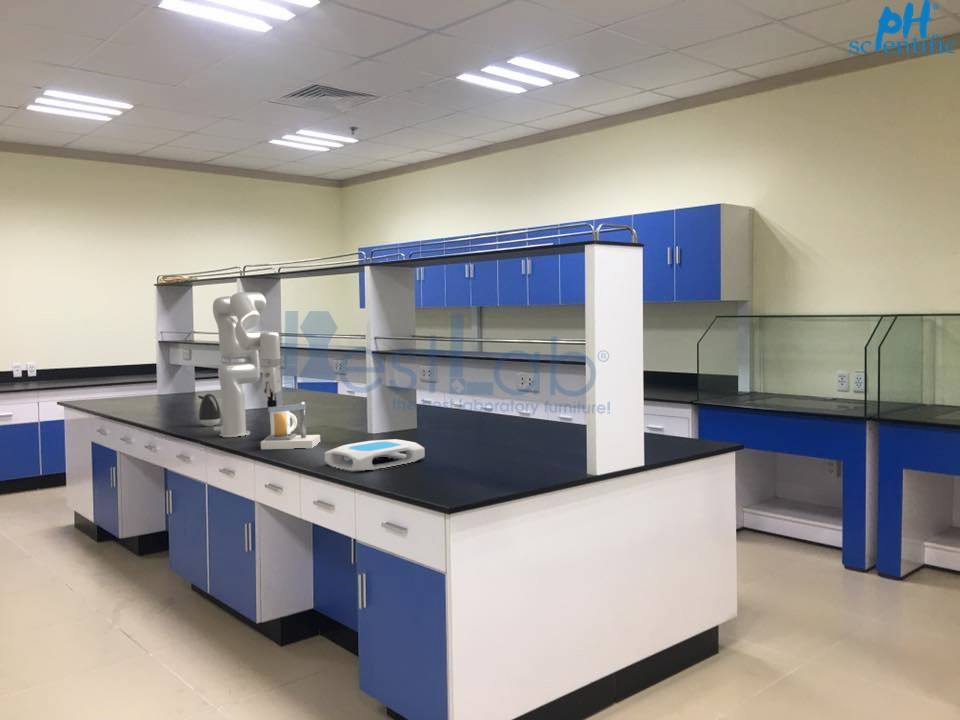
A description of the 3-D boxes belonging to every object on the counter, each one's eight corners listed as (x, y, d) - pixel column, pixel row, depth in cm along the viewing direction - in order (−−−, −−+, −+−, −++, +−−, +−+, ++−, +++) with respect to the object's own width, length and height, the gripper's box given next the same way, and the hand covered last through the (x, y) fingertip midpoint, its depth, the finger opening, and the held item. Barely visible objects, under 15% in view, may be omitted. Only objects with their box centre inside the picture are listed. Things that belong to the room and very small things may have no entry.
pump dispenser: (204, 424, 377) (203, 392, 376) (225, 424, 376) (223, 392, 375) (194, 427, 367) (192, 395, 366) (215, 427, 366) (213, 394, 365)
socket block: (260, 449, 304) (260, 439, 304) (271, 443, 318) (270, 433, 318) (312, 448, 304) (312, 438, 303) (320, 442, 318) (319, 432, 317)
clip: (271, 441, 302) (270, 405, 301) (269, 440, 304) (267, 404, 303) (307, 437, 310) (305, 402, 309) (304, 436, 312) (303, 401, 311)
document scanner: (323, 466, 270) (323, 448, 270) (389, 454, 289) (388, 437, 289) (359, 474, 255) (358, 455, 255) (425, 461, 274) (425, 443, 274)
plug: (271, 439, 308) (270, 414, 307) (275, 437, 314) (274, 412, 313) (286, 439, 308) (285, 414, 307) (290, 437, 313) (289, 412, 313)
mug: (302, 436, 333) (301, 408, 332) (277, 440, 325) (276, 411, 324) (292, 434, 339) (291, 406, 338) (267, 438, 331) (266, 409, 330)
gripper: (275, 365, 297) (276, 413, 298) (284, 362, 312) (286, 407, 313) (255, 365, 297) (257, 413, 298) (266, 362, 312) (267, 408, 313)
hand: (272, 410), depth 306 cm, fingers closed
